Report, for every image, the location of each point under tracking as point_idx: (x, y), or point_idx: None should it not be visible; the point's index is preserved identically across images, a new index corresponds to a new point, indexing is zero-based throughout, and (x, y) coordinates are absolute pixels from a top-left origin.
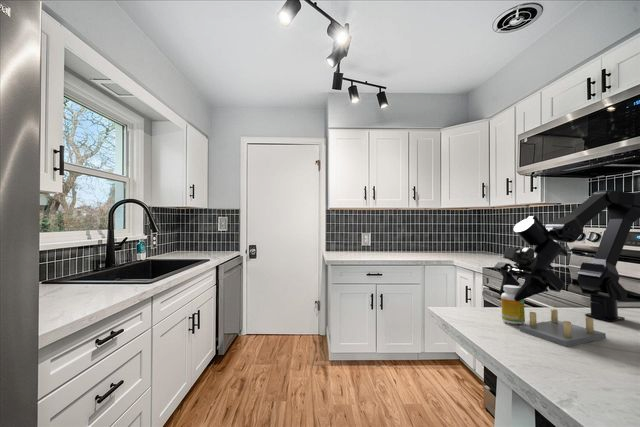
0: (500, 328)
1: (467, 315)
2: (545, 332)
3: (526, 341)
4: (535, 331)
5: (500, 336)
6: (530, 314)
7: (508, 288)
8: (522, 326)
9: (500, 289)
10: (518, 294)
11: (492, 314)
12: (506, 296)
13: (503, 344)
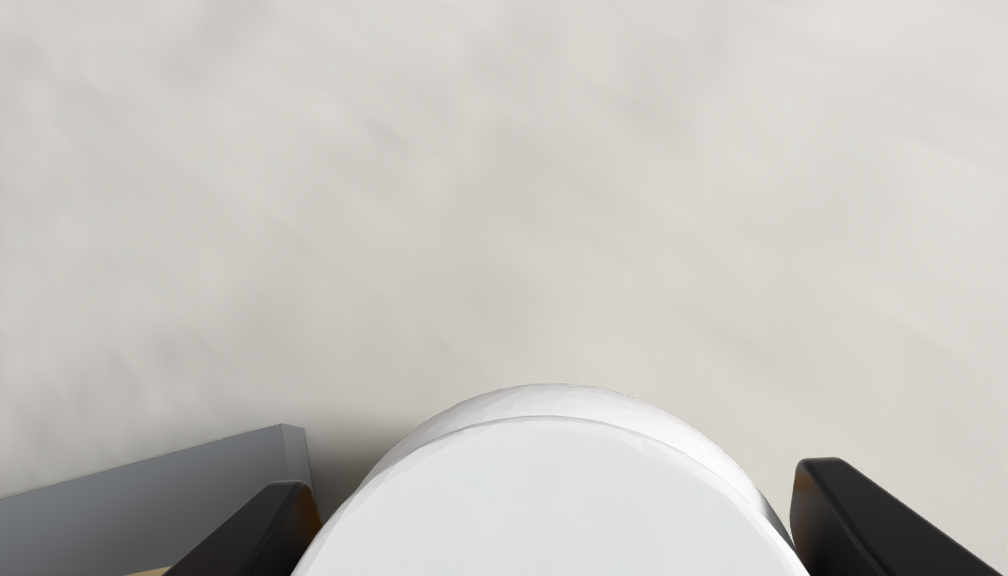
0: (408, 276)
1: (915, 181)
2: (33, 559)
3: (59, 283)
4: (97, 474)
5: (215, 142)
6: (137, 573)
7: (410, 452)
8: (258, 448)
9: (933, 540)
10: (172, 567)
11: (992, 555)
12: (463, 402)
13: (68, 64)
